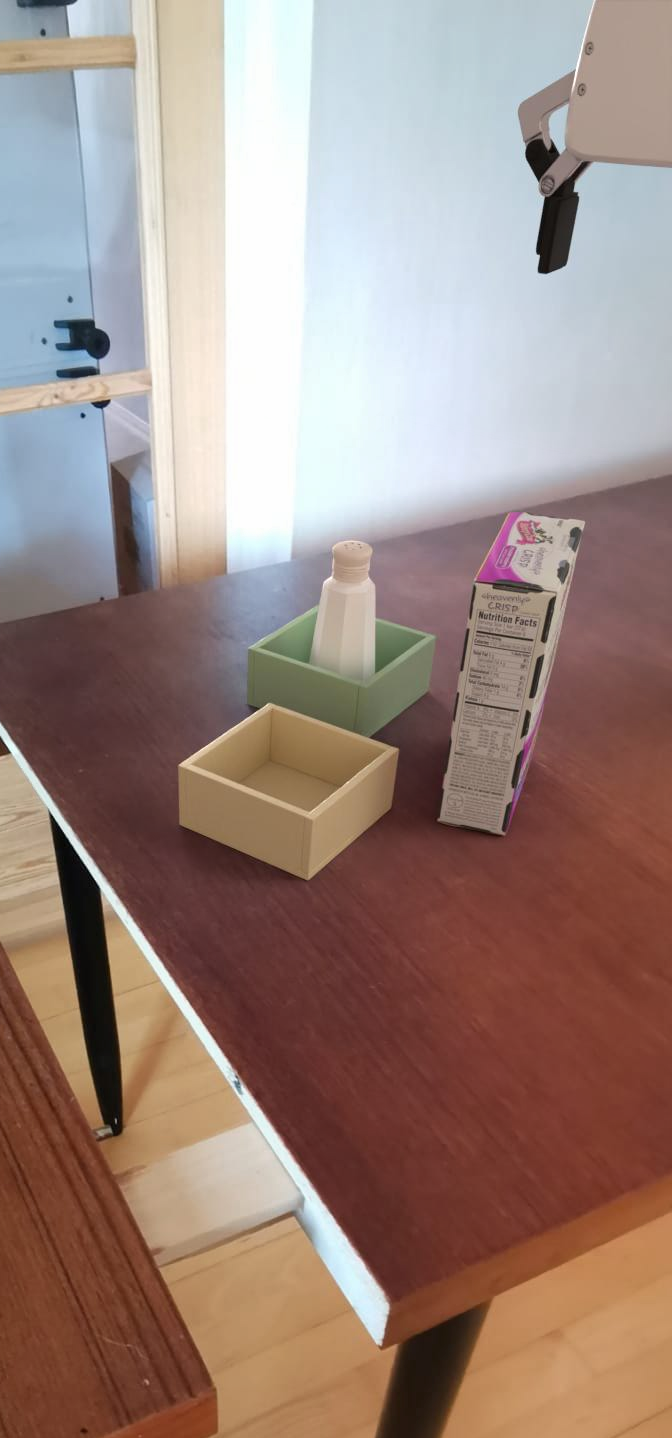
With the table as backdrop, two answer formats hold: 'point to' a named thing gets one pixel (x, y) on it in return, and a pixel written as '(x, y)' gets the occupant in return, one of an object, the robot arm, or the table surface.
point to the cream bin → (287, 789)
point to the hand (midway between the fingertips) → (622, 279)
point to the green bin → (340, 676)
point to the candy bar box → (507, 668)
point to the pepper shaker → (347, 615)
